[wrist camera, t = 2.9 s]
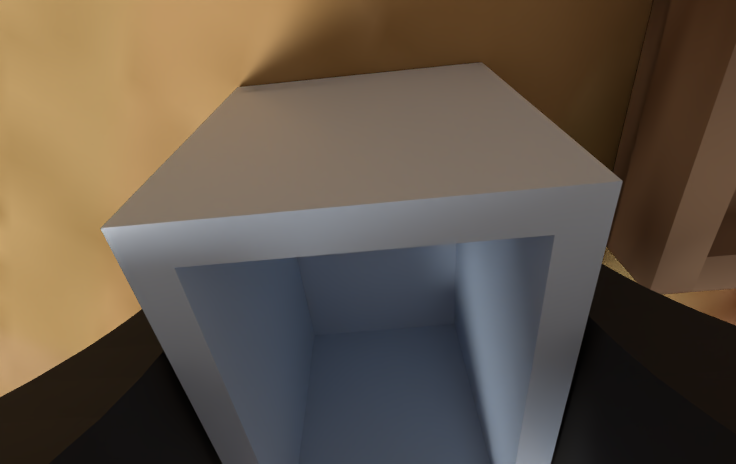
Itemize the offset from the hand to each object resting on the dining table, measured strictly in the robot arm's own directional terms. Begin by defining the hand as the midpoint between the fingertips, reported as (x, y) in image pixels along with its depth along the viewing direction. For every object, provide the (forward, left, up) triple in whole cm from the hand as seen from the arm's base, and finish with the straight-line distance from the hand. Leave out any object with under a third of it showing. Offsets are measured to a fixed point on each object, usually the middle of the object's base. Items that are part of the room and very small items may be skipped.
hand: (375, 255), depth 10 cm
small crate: (0, 0, -1) cm, 1 cm away
